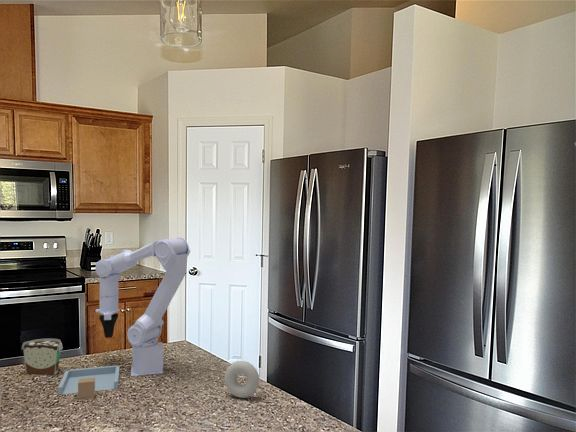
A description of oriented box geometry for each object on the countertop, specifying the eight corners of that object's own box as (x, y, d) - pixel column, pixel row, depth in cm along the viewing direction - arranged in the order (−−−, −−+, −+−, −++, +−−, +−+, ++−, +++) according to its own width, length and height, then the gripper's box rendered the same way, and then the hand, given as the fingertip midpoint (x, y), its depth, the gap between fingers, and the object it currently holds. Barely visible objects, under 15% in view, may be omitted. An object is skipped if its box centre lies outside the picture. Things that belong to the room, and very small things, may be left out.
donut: (261, 397, 125) (261, 360, 125) (256, 402, 122) (257, 364, 121) (227, 392, 128) (227, 357, 127) (222, 397, 124) (222, 361, 124)
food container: (71, 370, 144) (71, 338, 144) (59, 377, 138) (59, 344, 138) (34, 368, 145) (34, 337, 145) (21, 375, 139) (21, 342, 139)
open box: (119, 373, 142) (119, 365, 142) (117, 390, 129) (117, 381, 129) (65, 378, 137) (65, 370, 137) (58, 396, 124) (58, 387, 124)
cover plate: (110, 394, 127) (110, 375, 126) (108, 409, 117) (108, 389, 117) (63, 400, 123) (63, 380, 123) (56, 416, 113) (56, 395, 113)
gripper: (97, 292, 154) (97, 332, 154) (93, 300, 140) (93, 344, 140) (119, 291, 156) (119, 330, 156) (118, 299, 142) (117, 342, 142)
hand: (108, 337), depth 148 cm, fingers closed
